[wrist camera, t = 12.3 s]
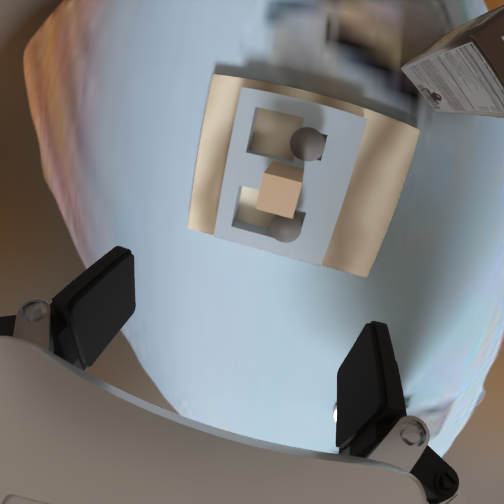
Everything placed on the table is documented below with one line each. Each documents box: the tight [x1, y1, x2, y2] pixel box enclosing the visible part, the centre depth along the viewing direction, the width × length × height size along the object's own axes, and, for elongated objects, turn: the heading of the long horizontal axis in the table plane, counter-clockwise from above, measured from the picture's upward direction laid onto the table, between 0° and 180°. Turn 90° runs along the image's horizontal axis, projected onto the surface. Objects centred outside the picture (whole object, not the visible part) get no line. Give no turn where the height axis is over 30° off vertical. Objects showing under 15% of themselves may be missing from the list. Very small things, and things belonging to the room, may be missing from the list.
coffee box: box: [401, 5, 504, 118], centre depth 14 cm, size 9×6×16 cm
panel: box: [214, 87, 367, 266], centre depth 25 cm, size 12×16×8 cm
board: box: [188, 74, 421, 278], centre depth 27 cm, size 22×18×6 cm
